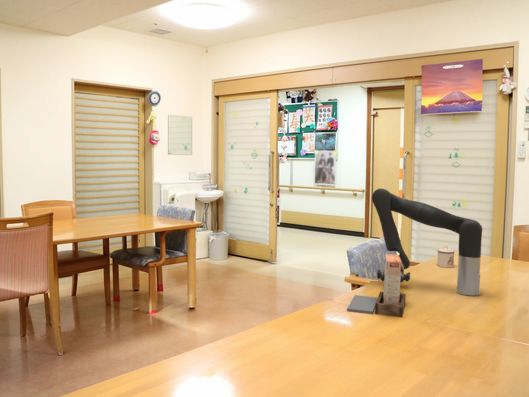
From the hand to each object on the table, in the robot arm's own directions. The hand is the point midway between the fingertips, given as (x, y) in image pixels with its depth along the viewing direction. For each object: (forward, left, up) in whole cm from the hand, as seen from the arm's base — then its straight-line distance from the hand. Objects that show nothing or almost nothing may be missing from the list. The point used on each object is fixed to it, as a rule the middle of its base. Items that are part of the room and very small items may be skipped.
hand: (391, 279), depth 197 cm
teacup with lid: (-23, -90, -12) cm, 93 cm away
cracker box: (0, +1, -12) cm, 12 cm away
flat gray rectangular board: (+11, +1, -12) cm, 16 cm away
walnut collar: (0, +1, -12) cm, 12 cm away
